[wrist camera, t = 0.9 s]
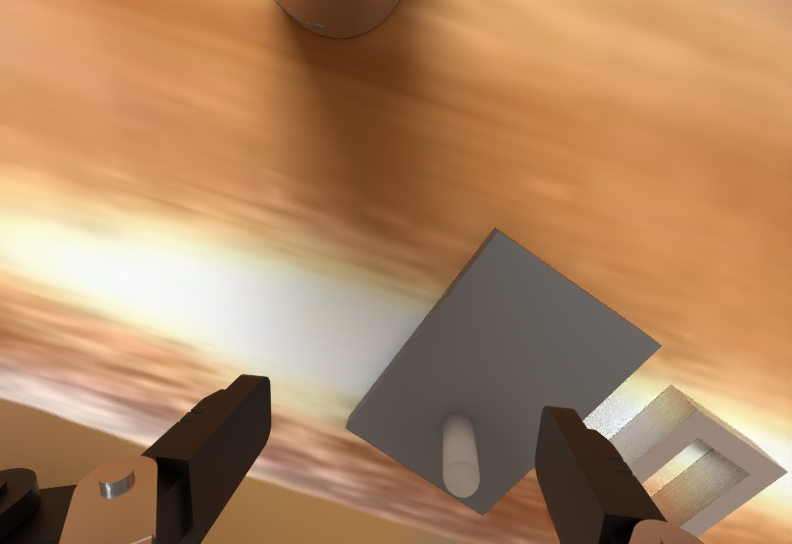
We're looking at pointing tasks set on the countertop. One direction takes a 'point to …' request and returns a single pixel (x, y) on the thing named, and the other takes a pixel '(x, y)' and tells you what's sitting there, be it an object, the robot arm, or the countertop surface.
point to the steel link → (708, 477)
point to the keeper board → (496, 373)
